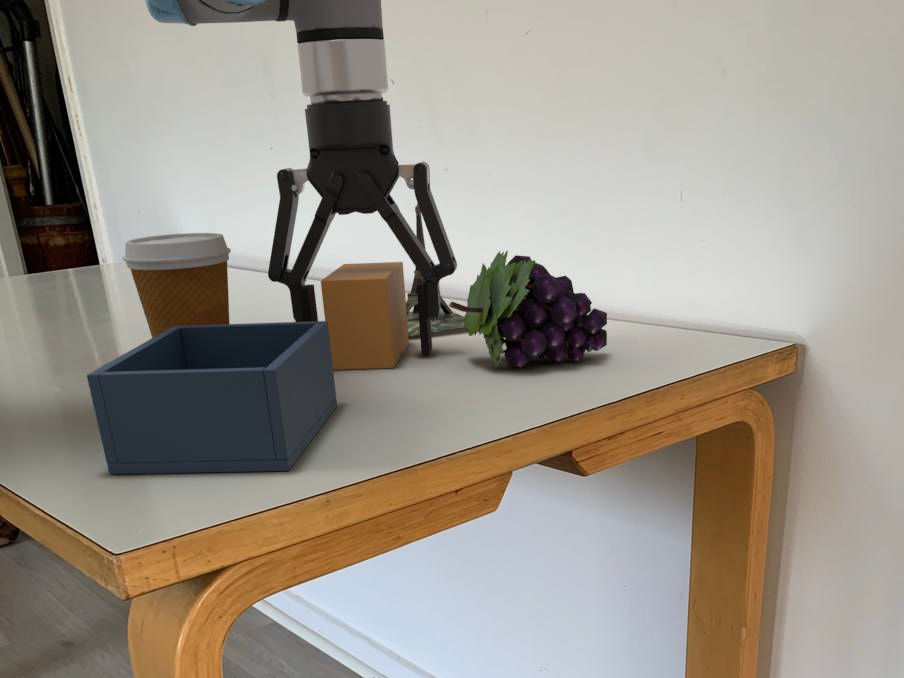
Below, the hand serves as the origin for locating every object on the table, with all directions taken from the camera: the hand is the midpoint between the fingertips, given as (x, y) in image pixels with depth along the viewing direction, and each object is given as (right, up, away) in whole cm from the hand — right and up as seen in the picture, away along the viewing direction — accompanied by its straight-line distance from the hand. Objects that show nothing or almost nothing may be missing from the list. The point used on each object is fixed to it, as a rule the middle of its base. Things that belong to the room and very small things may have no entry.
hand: (371, 353), depth 98 cm
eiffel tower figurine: (+4, +7, +14) cm, 16 cm away
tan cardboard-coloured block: (0, 0, 0) cm, 0 cm away
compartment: (-8, -13, -23) cm, 28 cm away
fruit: (+16, -3, -6) cm, 17 cm away
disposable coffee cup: (-16, -3, -3) cm, 17 cm away
